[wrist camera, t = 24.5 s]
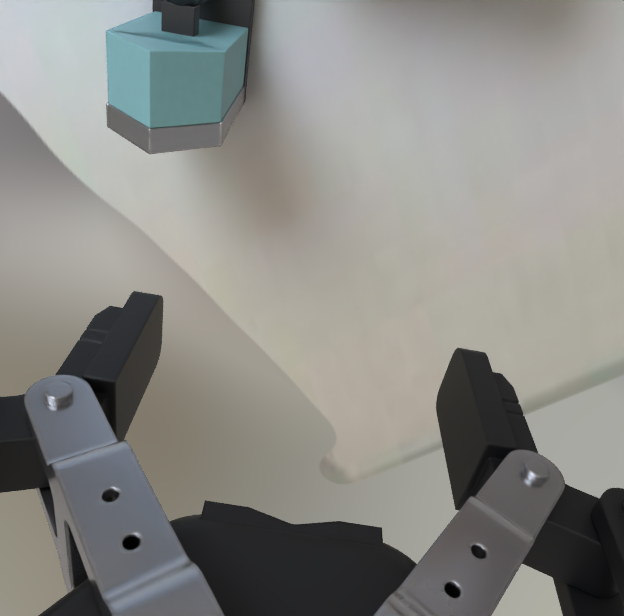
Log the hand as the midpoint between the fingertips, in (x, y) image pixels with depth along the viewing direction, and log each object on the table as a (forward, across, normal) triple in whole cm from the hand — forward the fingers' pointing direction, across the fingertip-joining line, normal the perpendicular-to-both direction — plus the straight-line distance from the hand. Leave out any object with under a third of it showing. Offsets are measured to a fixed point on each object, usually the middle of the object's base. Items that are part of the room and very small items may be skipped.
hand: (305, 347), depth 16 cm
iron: (+19, +8, 0) cm, 20 cm away
